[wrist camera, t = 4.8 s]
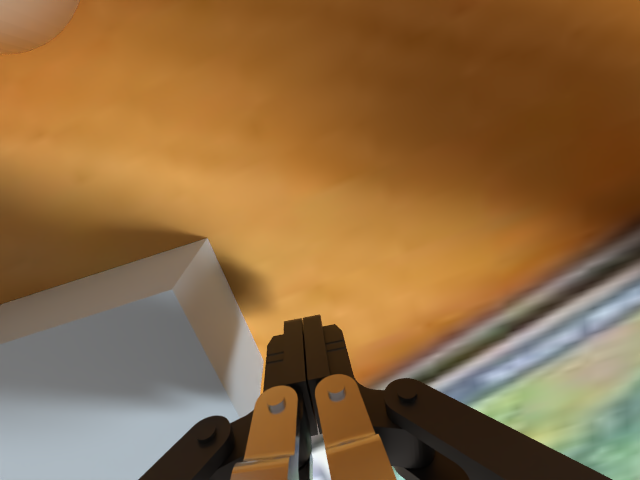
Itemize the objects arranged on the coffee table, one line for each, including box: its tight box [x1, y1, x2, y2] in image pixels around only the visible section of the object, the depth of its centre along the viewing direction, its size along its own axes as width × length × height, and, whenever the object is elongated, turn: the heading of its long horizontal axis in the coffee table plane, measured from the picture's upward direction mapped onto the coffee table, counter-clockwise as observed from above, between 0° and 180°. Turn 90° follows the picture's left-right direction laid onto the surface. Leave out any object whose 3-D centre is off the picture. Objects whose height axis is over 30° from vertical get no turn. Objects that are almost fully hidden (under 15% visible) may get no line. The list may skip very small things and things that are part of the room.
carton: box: [0, 238, 263, 480], centre depth 14 cm, size 10×7×5 cm
